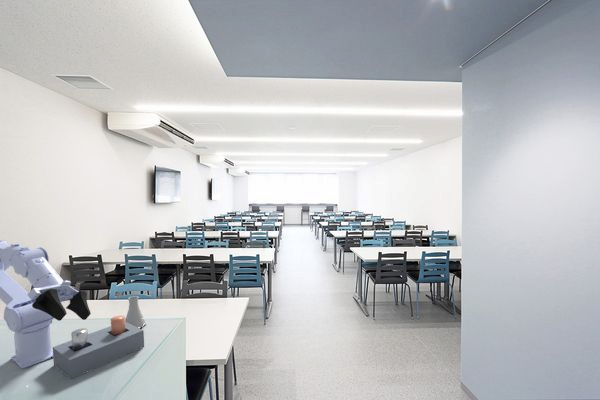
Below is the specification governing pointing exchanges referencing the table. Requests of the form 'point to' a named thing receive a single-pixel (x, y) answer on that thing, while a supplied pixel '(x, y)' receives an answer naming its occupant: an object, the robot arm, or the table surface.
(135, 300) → the flask
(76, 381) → the table surface
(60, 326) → the table surface
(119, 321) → the terracotta plug
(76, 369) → the plug panel
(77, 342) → the steel plug
